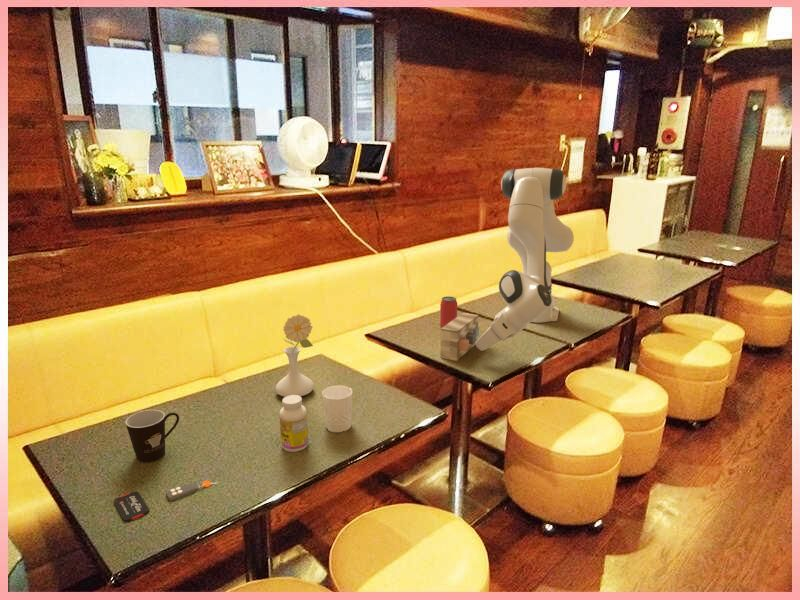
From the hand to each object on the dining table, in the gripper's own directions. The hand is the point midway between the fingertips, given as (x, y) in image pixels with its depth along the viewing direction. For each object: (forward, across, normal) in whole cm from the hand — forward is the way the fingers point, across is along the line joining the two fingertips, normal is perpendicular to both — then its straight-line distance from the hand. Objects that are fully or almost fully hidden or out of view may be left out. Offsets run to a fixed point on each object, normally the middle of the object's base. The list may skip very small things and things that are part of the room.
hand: (478, 345), depth 187 cm
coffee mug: (+39, +89, -29) cm, 102 cm away
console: (+11, -6, -3) cm, 13 cm away
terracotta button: (+5, 0, -2) cm, 6 cm away
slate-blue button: (+6, -13, -4) cm, 15 cm away
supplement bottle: (+19, +70, -10) cm, 74 cm away
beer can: (+20, -26, -12) cm, 34 cm away
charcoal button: (+5, -6, -2) cm, 9 cm away
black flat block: (+31, +105, -20) cm, 112 cm away
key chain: (+26, +94, -15) cm, 98 cm away
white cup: (+16, +58, -7) cm, 60 cm away
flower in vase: (+32, +47, -23) cm, 61 cm away
